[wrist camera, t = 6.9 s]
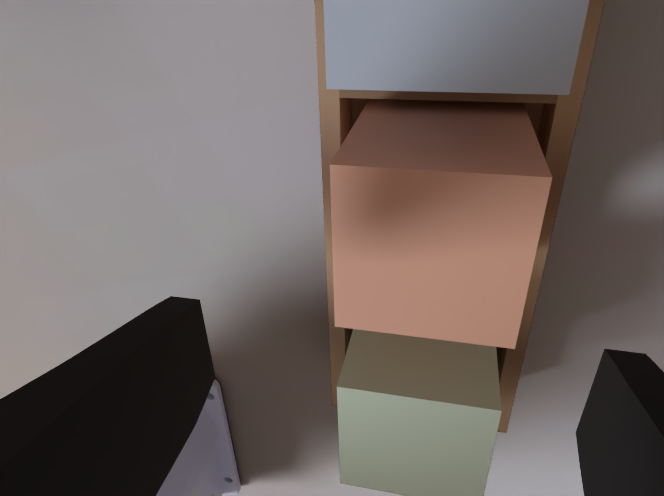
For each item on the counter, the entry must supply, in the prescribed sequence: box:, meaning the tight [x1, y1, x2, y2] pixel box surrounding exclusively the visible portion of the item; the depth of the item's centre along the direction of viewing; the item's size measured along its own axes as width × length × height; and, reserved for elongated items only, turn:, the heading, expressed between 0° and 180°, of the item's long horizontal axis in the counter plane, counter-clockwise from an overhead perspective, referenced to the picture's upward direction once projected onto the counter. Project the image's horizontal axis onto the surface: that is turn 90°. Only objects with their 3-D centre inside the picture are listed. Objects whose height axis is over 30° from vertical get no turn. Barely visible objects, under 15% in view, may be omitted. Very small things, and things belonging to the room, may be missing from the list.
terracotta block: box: [330, 99, 552, 349], centre depth 14 cm, size 4×4×6 cm
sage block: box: [337, 329, 502, 496], centre depth 17 cm, size 4×4×6 cm
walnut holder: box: [315, 0, 605, 433], centre depth 16 cm, size 20×7×3 cm, turn 2°
